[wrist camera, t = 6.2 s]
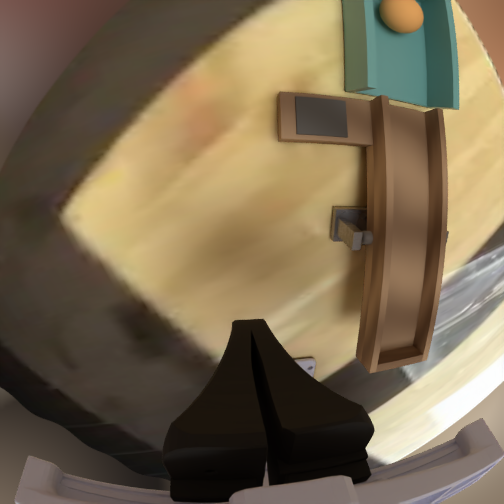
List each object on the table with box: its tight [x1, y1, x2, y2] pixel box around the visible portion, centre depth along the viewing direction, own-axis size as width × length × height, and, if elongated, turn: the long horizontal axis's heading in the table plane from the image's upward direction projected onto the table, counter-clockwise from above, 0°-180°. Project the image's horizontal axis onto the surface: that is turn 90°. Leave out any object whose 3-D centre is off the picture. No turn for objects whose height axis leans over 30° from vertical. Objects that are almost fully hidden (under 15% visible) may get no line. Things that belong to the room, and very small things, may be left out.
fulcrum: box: [331, 207, 449, 250], centre depth 20 cm, size 2×8×4 cm, turn 90°
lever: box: [277, 92, 448, 373], centre depth 18 cm, size 18×12×3 cm, turn 0°
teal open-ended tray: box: [342, 0, 459, 110], centre depth 14 cm, size 10×8×4 cm
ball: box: [379, 0, 424, 33], centre depth 13 cm, size 3×3×3 cm
